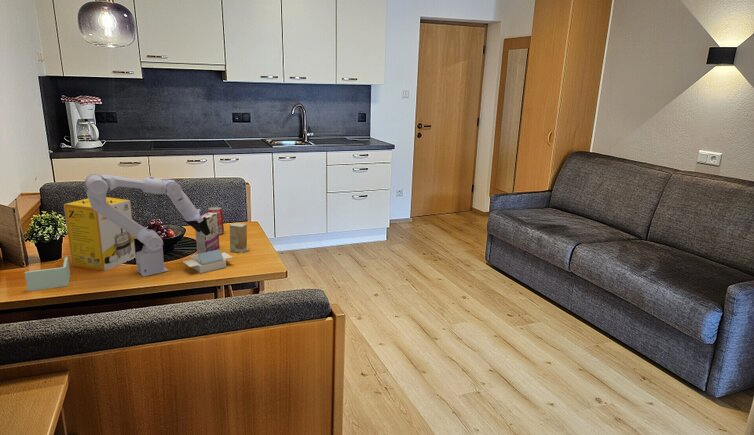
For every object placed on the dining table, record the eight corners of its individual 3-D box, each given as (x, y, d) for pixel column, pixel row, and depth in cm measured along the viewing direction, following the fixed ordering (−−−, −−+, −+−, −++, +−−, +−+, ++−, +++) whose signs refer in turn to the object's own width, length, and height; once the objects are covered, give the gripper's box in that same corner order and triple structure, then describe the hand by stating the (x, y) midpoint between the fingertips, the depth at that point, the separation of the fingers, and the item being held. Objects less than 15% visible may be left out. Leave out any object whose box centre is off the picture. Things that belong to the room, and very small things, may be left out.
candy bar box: (209, 247, 221) (207, 212, 217) (219, 248, 220) (218, 212, 216) (196, 255, 211) (193, 218, 206) (206, 256, 210) (204, 219, 205)
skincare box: (229, 251, 216) (228, 225, 213) (234, 248, 221) (233, 222, 217) (243, 253, 215) (242, 226, 212) (247, 250, 219) (246, 223, 216)
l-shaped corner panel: (70, 275, 186) (67, 256, 184) (68, 287, 176) (65, 267, 174) (32, 280, 180) (29, 261, 178) (28, 292, 170) (24, 272, 168)
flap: (201, 264, 191) (201, 263, 190) (197, 254, 192) (197, 253, 192) (223, 259, 197) (223, 258, 196) (219, 249, 198) (219, 249, 198)
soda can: (227, 233, 241) (225, 207, 238) (215, 236, 235) (213, 210, 232) (217, 230, 245) (215, 205, 241) (205, 234, 239) (203, 208, 236)
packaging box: (105, 252, 209) (98, 195, 203) (136, 258, 205) (130, 199, 198) (71, 265, 194) (63, 204, 188) (104, 271, 190) (96, 208, 183)
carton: (191, 275, 189) (190, 262, 187) (178, 266, 198) (177, 253, 196) (234, 265, 200) (233, 252, 199) (220, 257, 209) (219, 244, 208)
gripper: (200, 202, 189) (219, 229, 196) (186, 198, 200) (204, 223, 207) (185, 214, 186) (205, 240, 193) (171, 208, 197) (191, 233, 204)
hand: (204, 232), depth 200 cm, fingers open, 7 cm apart
